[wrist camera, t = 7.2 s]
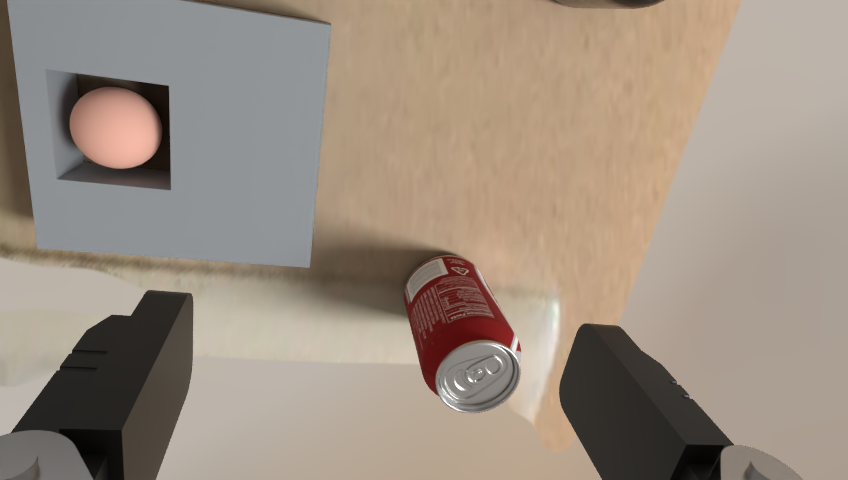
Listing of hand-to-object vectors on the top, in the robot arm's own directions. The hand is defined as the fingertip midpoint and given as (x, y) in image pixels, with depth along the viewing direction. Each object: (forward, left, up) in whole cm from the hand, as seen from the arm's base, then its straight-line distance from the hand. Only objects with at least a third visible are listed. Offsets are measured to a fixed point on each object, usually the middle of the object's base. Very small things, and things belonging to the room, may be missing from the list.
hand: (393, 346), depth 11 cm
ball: (+3, -14, -27) cm, 30 cm away
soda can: (+14, +9, -29) cm, 34 cm away
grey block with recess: (+3, -10, -29) cm, 31 cm away
